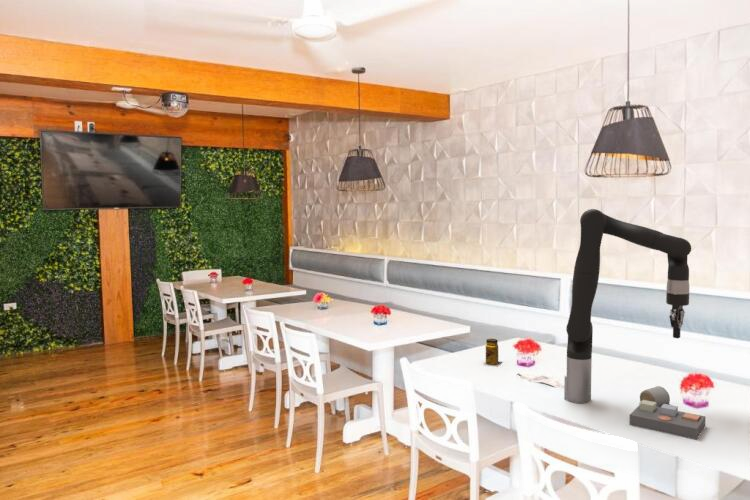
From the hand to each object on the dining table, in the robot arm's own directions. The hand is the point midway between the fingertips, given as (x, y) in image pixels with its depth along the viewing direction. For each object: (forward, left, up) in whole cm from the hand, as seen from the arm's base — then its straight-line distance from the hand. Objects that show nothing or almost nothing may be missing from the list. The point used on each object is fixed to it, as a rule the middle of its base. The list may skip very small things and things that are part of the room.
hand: (676, 337), depth 218 cm
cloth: (-53, +3, -28) cm, 60 cm away
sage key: (-5, -17, -24) cm, 30 cm away
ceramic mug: (-5, -4, -27) cm, 28 cm away
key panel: (+2, -20, -27) cm, 34 cm away
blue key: (+2, -18, -24) cm, 30 cm away
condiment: (-84, +15, -27) cm, 90 cm away
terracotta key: (+9, -18, -26) cm, 33 cm away
